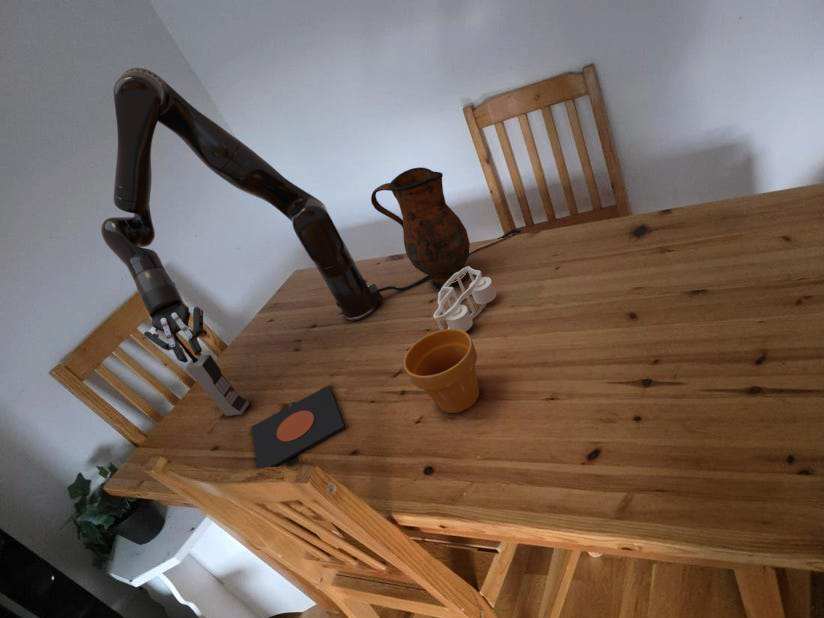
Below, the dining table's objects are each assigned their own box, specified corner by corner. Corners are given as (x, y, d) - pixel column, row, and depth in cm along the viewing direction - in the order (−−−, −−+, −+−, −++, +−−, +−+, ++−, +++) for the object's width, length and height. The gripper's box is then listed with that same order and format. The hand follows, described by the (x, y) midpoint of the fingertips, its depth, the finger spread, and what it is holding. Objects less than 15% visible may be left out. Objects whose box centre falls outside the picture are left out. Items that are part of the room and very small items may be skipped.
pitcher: (472, 293, 153) (429, 187, 135) (400, 301, 162) (351, 202, 143) (488, 257, 164) (451, 154, 146) (420, 266, 173) (377, 170, 155)
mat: (330, 387, 142) (328, 384, 141) (345, 428, 128) (343, 425, 128) (253, 428, 139) (250, 425, 138) (260, 475, 126) (257, 472, 125)
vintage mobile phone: (242, 415, 145) (178, 337, 129) (226, 416, 146) (161, 340, 131) (249, 404, 147) (188, 326, 132) (233, 405, 149) (171, 329, 134)
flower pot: (418, 395, 129) (394, 351, 121) (476, 364, 131) (456, 318, 123) (440, 434, 118) (415, 388, 110) (502, 399, 119) (482, 351, 112)
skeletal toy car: (463, 344, 138) (452, 320, 133) (427, 338, 144) (416, 315, 140) (505, 292, 148) (497, 267, 144) (470, 288, 155) (461, 265, 150)
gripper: (121, 302, 131) (154, 370, 129) (180, 273, 133) (214, 340, 131) (138, 311, 139) (170, 375, 136) (194, 283, 141) (226, 346, 138)
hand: (191, 357), depth 134 cm, fingers closed
